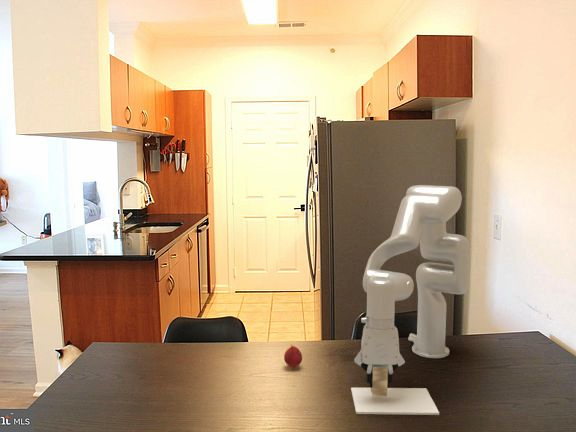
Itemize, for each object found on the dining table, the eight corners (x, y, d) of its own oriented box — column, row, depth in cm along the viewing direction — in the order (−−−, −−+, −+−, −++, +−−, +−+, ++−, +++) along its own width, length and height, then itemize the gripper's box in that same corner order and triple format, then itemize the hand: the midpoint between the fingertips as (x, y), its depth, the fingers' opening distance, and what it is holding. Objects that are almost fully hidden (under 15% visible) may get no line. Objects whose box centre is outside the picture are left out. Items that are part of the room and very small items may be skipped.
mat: (356, 413, 134) (356, 411, 134) (351, 389, 148) (351, 387, 148) (439, 414, 133) (439, 412, 133) (426, 390, 147) (426, 388, 147)
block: (372, 396, 138) (373, 361, 137) (370, 389, 142) (371, 355, 141) (387, 396, 138) (388, 361, 137) (384, 389, 142) (385, 355, 141)
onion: (304, 365, 164) (304, 342, 163) (299, 373, 159) (299, 348, 158) (287, 363, 166) (287, 340, 165) (281, 370, 161) (281, 346, 160)
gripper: (351, 326, 134) (350, 391, 136) (414, 327, 134) (411, 392, 136) (348, 317, 142) (347, 379, 144) (408, 318, 141) (406, 380, 143)
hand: (378, 385), depth 140 cm, fingers closed on block, 4 cm apart
